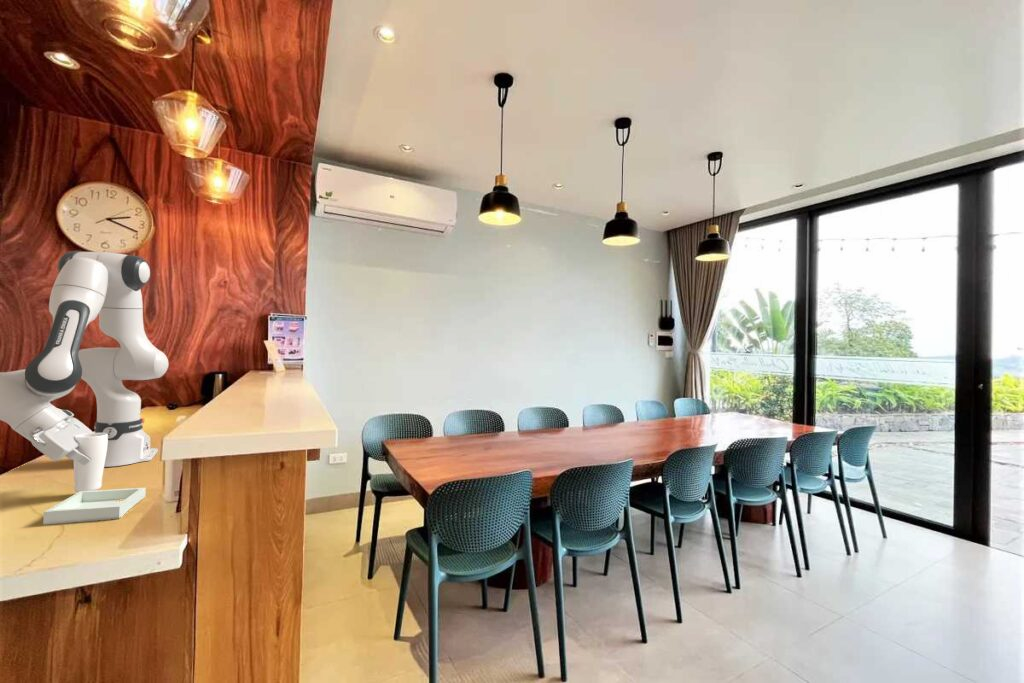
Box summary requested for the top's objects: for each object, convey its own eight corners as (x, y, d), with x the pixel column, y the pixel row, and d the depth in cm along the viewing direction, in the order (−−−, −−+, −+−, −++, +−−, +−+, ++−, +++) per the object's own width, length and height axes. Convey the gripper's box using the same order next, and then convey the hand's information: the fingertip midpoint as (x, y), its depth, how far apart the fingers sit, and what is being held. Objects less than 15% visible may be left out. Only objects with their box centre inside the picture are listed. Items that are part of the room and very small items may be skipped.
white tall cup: (104, 484, 123) (107, 431, 124) (105, 490, 118) (108, 435, 119) (70, 489, 119) (74, 434, 119) (70, 495, 114) (73, 438, 114)
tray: (79, 502, 113) (79, 491, 113) (145, 498, 118) (145, 487, 118) (43, 524, 100) (43, 511, 100) (119, 518, 105) (119, 506, 105)
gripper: (39, 423, 106) (91, 459, 111) (71, 409, 124) (115, 441, 129) (12, 443, 104) (66, 479, 109) (48, 425, 122) (94, 457, 127)
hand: (93, 458), depth 119 cm, fingers closed on white tall cup, 6 cm apart
